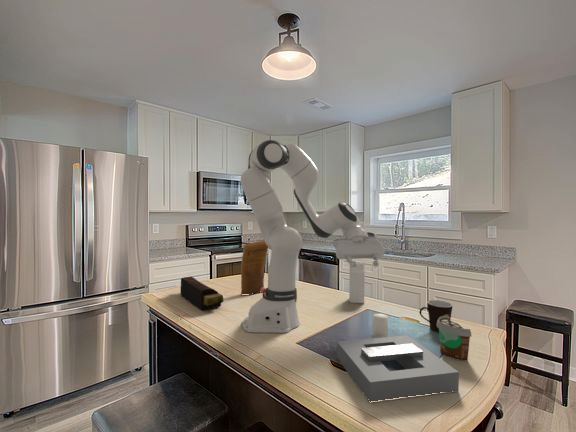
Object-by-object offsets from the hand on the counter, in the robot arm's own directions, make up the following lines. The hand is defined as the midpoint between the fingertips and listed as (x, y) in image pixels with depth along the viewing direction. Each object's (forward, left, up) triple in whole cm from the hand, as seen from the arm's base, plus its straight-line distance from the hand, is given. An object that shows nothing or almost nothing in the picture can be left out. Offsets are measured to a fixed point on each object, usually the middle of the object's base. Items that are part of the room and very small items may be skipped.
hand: (365, 266), depth 117 cm
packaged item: (-67, +43, -24) cm, 83 cm away
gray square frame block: (-8, -33, -23) cm, 42 cm away
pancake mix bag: (-39, +53, -24) cm, 70 cm away
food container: (+16, -26, -24) cm, 39 cm away
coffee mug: (+25, -8, -24) cm, 35 cm away
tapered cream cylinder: (0, -12, -23) cm, 26 cm away
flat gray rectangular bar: (-8, -33, -18) cm, 39 cm away
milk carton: (+10, +30, -24) cm, 39 cm away
